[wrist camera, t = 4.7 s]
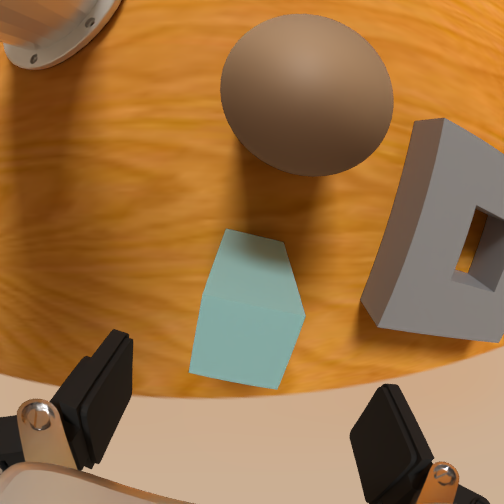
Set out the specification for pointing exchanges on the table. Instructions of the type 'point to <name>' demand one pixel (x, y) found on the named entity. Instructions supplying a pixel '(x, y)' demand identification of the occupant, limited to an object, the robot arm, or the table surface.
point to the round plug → (307, 95)
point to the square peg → (248, 313)
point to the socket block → (442, 239)
